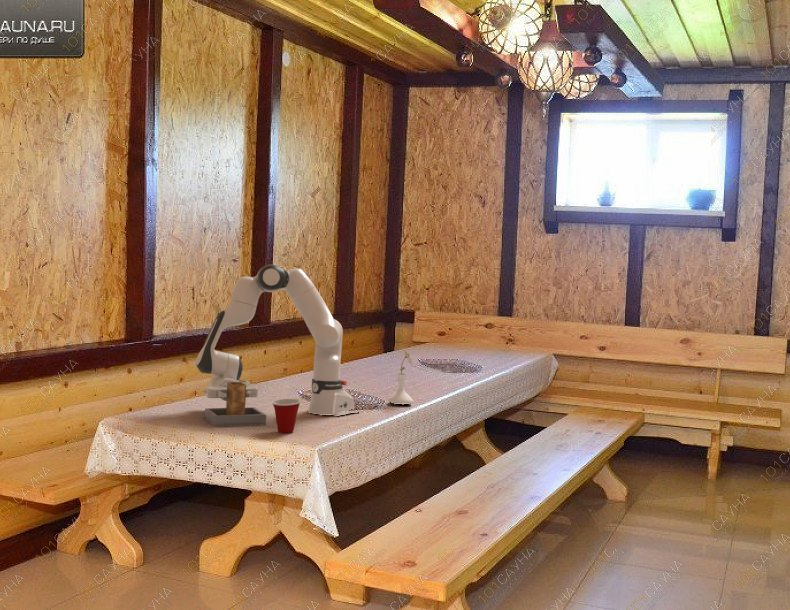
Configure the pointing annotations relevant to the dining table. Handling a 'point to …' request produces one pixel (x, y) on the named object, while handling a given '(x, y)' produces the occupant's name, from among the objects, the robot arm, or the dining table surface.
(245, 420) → the gray tray
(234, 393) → the wooden pencil holder
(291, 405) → the plastic cup
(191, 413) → the dining table surface
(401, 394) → the flower in vase
